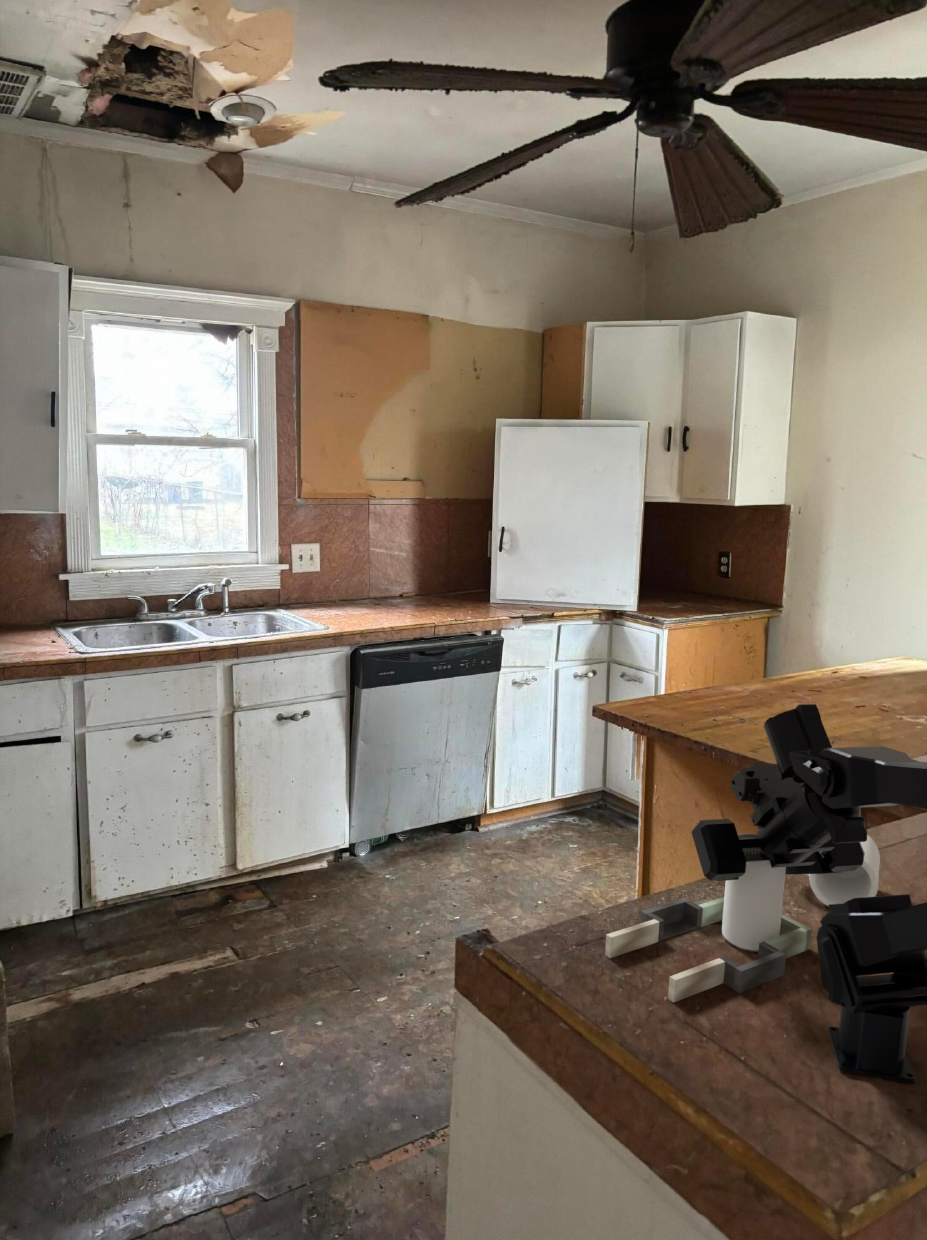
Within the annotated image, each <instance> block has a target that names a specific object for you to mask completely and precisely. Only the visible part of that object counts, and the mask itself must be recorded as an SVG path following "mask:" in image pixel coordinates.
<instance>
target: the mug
mask: <svg viewBox="0 0 927 1240" xmlns="http://www.w3.org/2000/svg"><path fill="white" fill-rule="evenodd" d="M860 843H861V845H862V848H863V850H864V853H865V855H864V862H863V865H862V866H860V867H859V868H857V869H856V870H854V871H843V872H841V873H827V874H804V875H805V876H808V877H809V885H810V888H811V890H812V892H813V894H814V896H815V897H816V898H817V899H818V900H819V901H820V902H821V903H822V904H823V905H825V906H827V907H828V908H829V904H843V903H845V902H847V901H848V900H851V899H854V898H861V897H875V896H877V893H878V889H879V876H880V862H881V856H880V850H879V847H878V845H877V844H876V842H875V840H874V839H872V837H871V836H870V835H869V834H867V841H866V842H860Z"/></svg>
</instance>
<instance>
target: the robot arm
mask: <svg viewBox="0 0 927 1240" xmlns="http://www.w3.org/2000/svg"><path fill="white" fill-rule="evenodd" d="M763 729H764V731H765V732H764V733H765V734H766V737H767V740H768V742H769V746H770V748H771V751H772V753H773V756H774V759H775V762H776V763H775V764H774V763H773V764H772V763H771V764H768V763H767V764H752V765H749V767H741V769H740V770H739V771H737V772H736V773H734V774H733V776H732V779H731V781H730V789H731V791H732V792H733V794H734V796H735V797H736V799H737V800H738V802H749V804H751V807H752V808H753V809H754V812H752V814H751V815H750V818H751V822H752V824H753V827H757V828H758V830H757V831H756V834H757V838H756V839H739V837H738V835H739V834H738V832H737V828H736V824H735V822H734V821H732V819H729V818H719V819H717V818H716V819H702V820H701V819H700V820H699V821H698V823H696V825H695V826H694V827H693V828H692V830H691V836H692V839H693V842H694V845H695V849H696V853H697V856H698V860H699V863H700V867H701V870H702V873H703V876H704V878H706V879H707V880H708V881H710V882H712V881H713V882H714V881H716V882H724V881H725V882H726V880H738V879H739V877H740V876H742V875H743V874H744V873H745V872H746V863H747V862H762V861H770V864H771V867H772V868H776V867H786V872H785V876H786V875H805V874H827V873H841V872H843V871H854V870H856V869H857V868H859V867H860V866H862V865H863V862H864V855H865V853H864V850H863V848H862V845H861V843H860V842H866V841H867V835H868V830H867V827H866V825H865V817H864V816H862V809H861V808H873V807H874V808H875V807H877V808H878V807H891V806H893V807H894V806H899V805H900V806H906V807H914V808H922V809H926V810H927V761H920V760H917V759H914V758H911V757H910V755H908V753H906V752H903V751H901V750H896V749H893V748H890V747H887V746H883V745H880V746H879V745H877V746H853V747H852V746H849V747H847V746H846V747H845V746H844V747H833V746H832V743H831V741H830V738H829V736H828V734H827V732H826V729H825V726H824V724H823V721H822V717H821V713H820V710H819V708H818V706H817V704H815V703H805V704H802V703H801V704H798V705H797V706H796V707H795V708H793V709H789V710H785V711H783V712H780V713H778V714H776V715H774V716H773V717H772V716H771V717H768V718H767V719H766V720H765V721H764V723H763ZM798 783H799V784H802V785H801V786H800V785H799V784H798ZM758 852H759V853H758ZM745 853H746V854H745ZM755 853H756V854H755ZM828 908H829V911H830V912H827V913H826V914H823V916H822V917H821V919H820V925H821V926H820V927H819V928H818V929H817V930H818V931H817V933H816V945H817V953H818V955H817V956H818V963H819V971H820V980H821V986H822V988H823V989H824V990H826V992H827V993H828V995H827V999H828V1001H829V1002H831V1003H832V1004H834V1005H838V1006H840V1017H839V1023H838V1024H839V1025H838V1026H834V1025H833V1026H831V1025H829V1026H828V1027H827V1033H828V1037H829V1041H830V1043H831V1047H832V1051H833V1054H834V1057H835V1061H836V1064H837V1068H838V1069H839V1070H840V1071H841V1072H843V1073H849V1074H855V1075H860V1076H865V1077H866V1076H867V1077H872V1078H879V1079H883V1080H890V1081H891V1080H892V1081H897V1082H901V1083H902V1082H903V1083H909V1084H914V1083H916V1080H917V1079H916V1078H917V1076H916V1074H915V1071H914V1069H913V1067H912V1064H911V1062H910V1059H909V1057H908V1055H907V1053H906V1048H907V1039H908V1037H907V1036H908V1030H909V1022H910V1014H911V1008H912V1007H920V1006H927V901H926V902H923V903H919V904H915V905H912V900H911V895H910V893H905V894H894V895H893V894H891V895H890V894H889V895H876V896H875V897H861V898H854V899H851V900H848V901H847V902H845V903H843V904H829V907H828Z"/></svg>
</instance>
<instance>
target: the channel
mask: <svg viewBox="0 0 927 1240" xmlns="http://www.w3.org/2000/svg"><path fill="white" fill-rule="evenodd" d="M723 908H724V896H723V897H718V898H716V899H713V900H709V901H706V902H704V903H701V904H696V902H693V901H691V900H689V899H688V898H686V897H682V898H680V899H676V900H673V901H670V902H667V903H663V904H661V905H657V906H654V907H650V908H647V909H644V910H641V912H640V923H638V924H635V925H632V926H628V927H625V928H623V929H619V930H616V931H613V932H609V933H606V935H605V949H604V952H605V953H604V955H605V957H606V958H608V959H613V958H615V957H618V956H620V955H624V954H627V953H630V952H632V951H637V950H639V949H642V948H645V947H648V946H650V945H654V944H656V943H660V942H662V941H665V940H668V939H671V938H674V937H677V936H680V935H683V934H687V933H688V932H692V931H695V930H698V929H700V928H704V927H706V926H710V925H712V924H715V923H718V922H720V921H721V922H722V920H723ZM812 930H813V929H812V928H810V927H808V925H807V926H806V925H805V924H803V923H801V922H798V921H797V920H795V919H793V918H791V917H789V916H787V915H785V914H784V913H782V915H781V926H780V935H779V936H777V937H775V938H772V939H769V940H767V941H764V942H761V943H759V950H758V952H757V959H755V960H752V961H750V962H747V963H745V964H741V965H740V964H738V963H737V962H735V961H733V960H732V959H730V958H728V957H727V956H721V957H719V958H715V959H713V960H711V961H708V962H705V963H702V964H699V965H697V966H694V967H692V968H689V969H686V970H684V971H680V972H679V973H676V974H673V975H671V976H669V980H668V981H669V982H668V992H667V993H668V995H667V999H668V1000H669V1001H670V1002H672V1003H673V1004H674V1003H677V1002H680V1001H681V1000H683V999H687V998H690V997H692V996H694V995H697V994H700V993H702V992H705V991H708V990H710V989H713V988H715V987H717V986H719V985H722V984H724V985H725V986H727V987H729V988H730V989H732V990H734V991H735V992H737V993H738V994H742V993H744V992H747V991H749V990H752V989H754V988H757V987H759V986H761V985H764V984H766V983H769V982H772V981H774V980H775V979H776V980H777V979H778V978H779V979H780V978H781V977H783V976H785V974H786V973H785V972H786V962H787V961H786V959H788V958H791V957H793V956H796V955H798V954H801V953H803V952H804V953H805V952H806V951H808V950H810V949H811V938H812Z"/></svg>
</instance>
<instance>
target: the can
mask: <svg viewBox="0 0 927 1240" xmlns="http://www.w3.org/2000/svg"><path fill="white" fill-rule="evenodd" d="M738 837H739V839H756V838H757V833H741V834H738ZM758 853H759V852H758ZM745 854H746V853H745ZM755 854H756V853H755ZM785 872H786V867H776V868H772V867H771V864H770V861H762V862H747V863H746V872H745V873H744V874H743V875H742V876H740V877H739V879H738V880H726V881H725V884H724V885H725V886H724V896H723V897H724V908H723V920H722V921H721V923H722V924H721V933H722V936H723V938H724V940H726V942H728V944H730V945H731V946H733V947H735V948H738V949H740V950H743V951H746V952H752V953H758V950H759V943H761V942H764V941H767V940H769V939H772V938H775V937H777V936H779V935H780V926H781V915H782V914H783V905H784V904H783V903H784V901H783V900H784V891H785V883H786V881H785V880H786V875H785Z"/></svg>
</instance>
